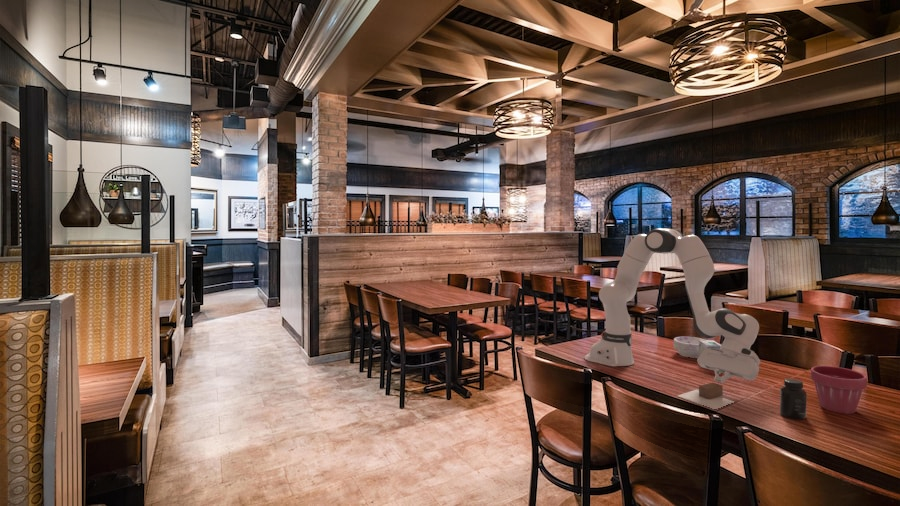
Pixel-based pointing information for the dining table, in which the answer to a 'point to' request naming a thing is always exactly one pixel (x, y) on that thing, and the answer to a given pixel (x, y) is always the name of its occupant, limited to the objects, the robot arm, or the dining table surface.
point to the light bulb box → (707, 345)
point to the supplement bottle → (793, 399)
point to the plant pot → (838, 388)
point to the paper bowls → (687, 346)
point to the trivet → (705, 400)
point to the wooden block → (710, 390)
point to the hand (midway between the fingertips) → (718, 381)
